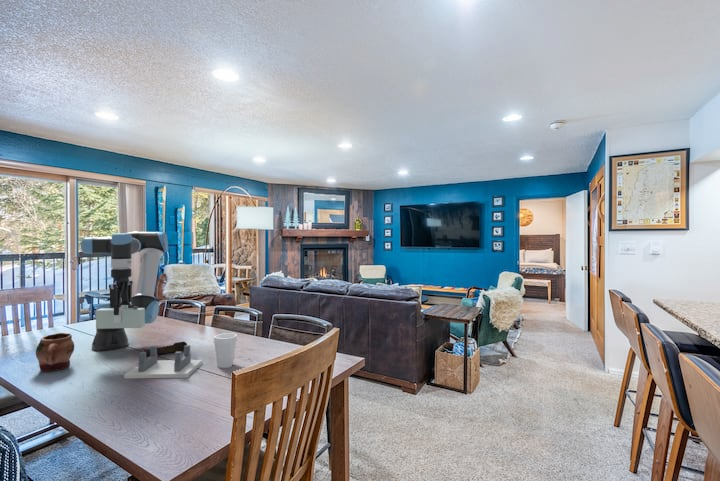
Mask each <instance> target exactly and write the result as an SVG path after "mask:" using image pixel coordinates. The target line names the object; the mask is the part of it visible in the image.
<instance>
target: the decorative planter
mask: <svg viewBox="0 0 720 481" xmlns="http://www.w3.org/2000/svg"><path fill="white" fill-rule="evenodd" d="M72 336H73V335H72V334H71V333H70V332H69V333H67V332H66V333H65V332H58V333H54V334H48V335H45V336H44V337H42V338H40V340H39V343H38V345H37V347H36V349H35V356H36V359H37V361H38V366H39V370H40V371H41V372H42V373H48V372H56V371H60V370H63V369H66V368H67V367H69V366H70V365H71V360H70V359H71V356H72V355H73V353H74V351H75V342H74V341H73V339H72V338H73V337H72Z"/></svg>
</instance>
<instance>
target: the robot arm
mask: <svg viewBox="0 0 720 481" xmlns="http://www.w3.org/2000/svg"><path fill="white" fill-rule="evenodd" d="M168 241H169V240H168V236H167V234H166V233H165V232H164V231H163V232H162V231H130V232H123V233H122V232H121V233H112V234H111V236H102V237H101V236H100V237H93V236H91V237H84V238H83V239H82V240H81V241H80V250H81V252H82V253H83V254H87V255H103V254H104V255H105V254H107V255H108V254H109V255H110V258H111V259H110V268H111V270H110V277H111V278H113V281H112V284H108V290H109V300H107V301H102V302H100V303H98V304H97V306H96V310H98V309H101V308H114V322H121V308H133V307H134V306H138V308H145V325H147V324H153V323H154V322H155V321H156V320H157V317H158V315H159V312H160V302H159V301H158V300H157V297H156V296H155V289H156V285H157V278H158V271H159V267H160V261H161V258H162V257H163V256H164V255H165V253H168V251H169V242H168ZM136 253H139V254H140V255H141V256H142V257H141V261H140V262H141V263H140V268H139V273H138V279H137V283H136V289H135V294H134V295H133V294H132V291H133V282H134V281H133V280H130V279H129V278H131V277H132V262H133V261H132V258H133V257H132V255H133V254H136ZM132 295H133V296H132ZM95 329H96V328H95ZM128 345H129V338H128V336H127V332H126V330H125V328H107V329H96V333H95V335H94V338H93V341H92V343H91V350H93V351H98V352H99V351H101V352H102V351H112V350H116V349H117V350H118V349H121V348H124V347H126V346H128Z"/></svg>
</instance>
